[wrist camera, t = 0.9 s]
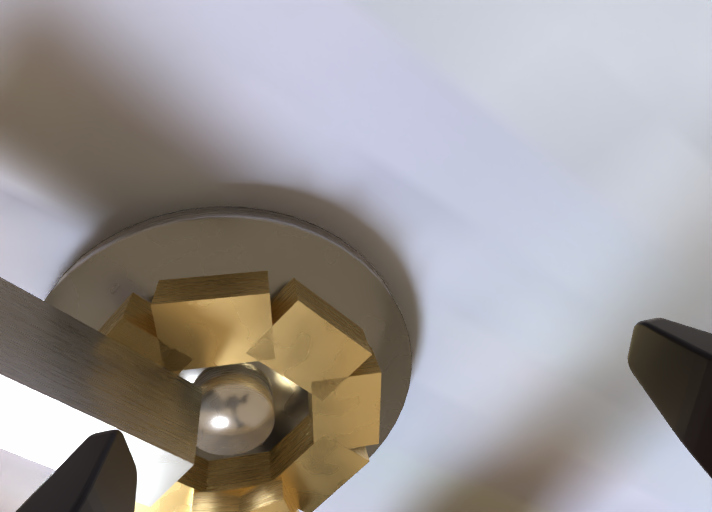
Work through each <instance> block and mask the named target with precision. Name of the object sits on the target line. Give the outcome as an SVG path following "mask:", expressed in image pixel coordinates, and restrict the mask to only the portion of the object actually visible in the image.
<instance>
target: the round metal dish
mask: <svg viewBox="0 0 712 512" xmlns="http://www.w3.org/2000/svg"><path fill="white" fill-rule="evenodd" d="M258 271H268V280H269V291H270V301H271V300H272V299H273V298H274V297H275V296H276V295H277V294H278V293H279V292H280V291H281V290H282V289H283V288H284V287H285V286H286V285H287V284H288V283H289V282H290V281H291V280H292V279H293V278H295V279H296V280H298V281H299V282H300V283H302V284H303V285H304V286H306V287H307V288H308V289H310V290H311V291H312V292H314V293H315V294H316V295H318V296H319V297H320V298H322V299H323V300H324V301H326V302H327V303H328V304H330V305H331V306H332V307H334V308H335V309H336V310H338V311H339V312H340V313H342V314H343V315H344V316H346V317H347V318H348V319H350V320H351V321H352V322H354V323H355V324H356V325H358V326H359V327H360V328H362V329H363V331H364V334H365V337H366V339H367V342H368V344H369V347H372V350H373V352H374V355H375V357H376V360H377V362H378V365H379V368H380V370H381V398H380V426H379V444H375V445H368V446H365V447H366V450H367V454H368V457H370V456H371V455H372V454H373V453H374V452H375V451H376V450H377V449H378V447H379V446H380V445H381V444H382V442H383V441H384V440H385V439H386V437H387V436H388V434H389V433H390V431H391V429H392V428H393V426H394V425H395V423H396V421H397V419H398V417H399V415H400V412H401V410H402V408H403V406H404V403H405V399H406V396H407V393H408V389H409V384H410V377H411V347H410V341H409V335H408V332H407V329H406V326H405V323H404V320H403V317H402V314H401V313H400V311H399V309H398V307H397V305H396V303H395V301H394V300H393V298H392V296H391V294H390V292H389V290H388V288H387V287H386V285H385V283H384V281H383V280H382V279H381V277H380V276H379V275H378V274H377V272H376V271H375V270H374V268H373V267H372V266H371V265H370V264H369V263H368V262H367V261H366V260H365V259H364V258H363V257H362V256H361V255H360V254H359V253H358V252H357V251H356V250H354V249H353V248H352V247H350V246H349V245H348V244H346V243H345V242H343V241H342V240H341V239H339V238H338V237H336V236H334V235H332V234H331V233H329V232H327V231H325V230H323V229H321V228H320V227H318V226H316V225H313V224H310V223H308V222H305V221H303V220H300V219H297V218H295V217H292V216H288V215H284V214H280V213H275V212H271V211H267V210H260V209H251V208H243V207H207V208H199V209H191V210H183V211H178V212H174V213H170V214H166V215H162V216H158V217H154V218H151V219H149V220H146V221H144V222H141V223H138V224H136V225H133V226H131V227H128V228H126V229H124V230H122V231H120V232H119V233H117V234H115V235H113V236H111V237H109V238H108V239H106V240H104V241H102V242H101V243H100V244H98V245H97V246H96V247H94V248H93V249H91V250H90V251H89V252H87V253H86V254H85V255H83V256H82V257H81V258H80V259H79V260H78V261H77V262H76V263H75V264H74V265H73V266H72V267H71V268H70V269H69V270H68V271H67V272H66V273H65V274H64V275H63V276H62V277H61V279H60V280H59V281H58V283H57V284H56V286H55V287H54V288H53V290H52V291H51V292H50V294H49V295H48V297H47V298H46V299H45V302H46V303H48V304H50V305H52V306H54V307H55V308H57V309H59V310H61V311H63V312H64V313H66V314H68V315H70V316H72V317H74V318H75V319H77V320H79V321H81V322H83V323H84V324H86V325H88V326H90V327H92V328H93V329H95V330H97V331H98V330H99V329H100V328H101V327H102V326H103V325H104V324H105V323H106V321H107V320H108V319H109V318H110V317H111V316H112V315H113V314H114V313H115V311H116V310H117V309H118V308H119V307H120V306H121V305H122V304H123V303H124V301H125V300H126V299H127V298H128V297H129V296H130V295H131V294H132V293H135V294H136V295H138V296H140V297H141V298H143V299H145V300H146V301H148V302H150V303H151V302H152V299H153V296H154V293H155V290H156V287H157V284H158V281H159V280H167V279H178V278H190V277H201V276H212V275H224V274H235V273H247V272H258ZM178 375H179V376H181V377H182V378H184V379H186V380H188V381H190V382H191V383H193V384H195V385H197V386H199V387H200V388H202V389H203V391H202V400H201V409H200V417H199V426H198V435H197V444H196V452H195V455H197V456H199V457H201V458H204V459H206V460H208V461H212V460H218V459H224V458H231V457H237V456H243V455H250V454H256V453H262V452H269V451H270V450H271V449H272V448H274V447H275V446H276V445H277V444H278V443H279V442H280V441H281V440H282V439H283V438H284V437H285V436H286V435H287V434H288V433H289V432H291V431H292V430H293V429H294V428H295V427H296V426H297V425H298V424H299V423H300V422H301V421H302V420H303V419H304V418H305V417H307V416H308V415H309V403H308V391H306V390H305V389H303V388H301V387H300V386H298V385H297V384H295V383H293V382H292V381H290V380H289V379H287V378H285V377H284V376H282V375H281V374H279V373H277V372H276V371H274V370H272V369H271V368H269V367H268V366H266V365H264V364H263V363H261V362H260V361H254V362H246V363H238V364H230V365H222V366H213V367H205V368H197V369H189V370H182V371H181V372H180V373H179V374H178Z"/></svg>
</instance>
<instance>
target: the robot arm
mask: <svg viewBox="0 0 712 512" xmlns="http://www.w3.org/2000/svg"><path fill="white" fill-rule="evenodd" d="M628 364H629V367H630V369H631V371H632V373H633V374H634V376H635V377H636V378H637V380H638V381H639V383H640V384H641V385H642V387H643V388H644V390H645V391H646V393H647V394H648V395H649V397H650V398H651V400H652V401H653V403H654V404H655V405H656V407H657V408H658V410H659V411H660V413H661V414H662V415H663V417H664V418H665V420H666V421H667V423H668V424H669V425H670V427H671V428H672V430H673V431H674V432H675V434H676V435H677V437H678V438H679V439H680V441H681V442H682V443H683V445H684V446H685V447H686V448H687V449H688V451H689V452H690V453H691V454H692V456H693V457H694V458H695V459H696V460H697V462H698V463H699V464H700V465H701V466H702V468H703V469H704V470H705V471H706V472H707V473H708V475H709V476H710V477H711V478H712V334H711V333H708V332H705V331H702V330H698V329H695V328H692V327H689V326H685V325H682V324H679V323H676V322H673V321H669V320H666V319H662V318H654V319H649V320H644V321H640V322H638V323H637V324H636V326H635V327H634V330H633V335H632V339H631V344H630V349H629V353H628ZM136 490H137V468H136V464H135V462H134V459H133V457H132V454H131V452H130V449H129V447H128V444H127V442H126V440H125V437H124V435H123V433H122V432H121V431H120V430H118V429H112V430H107V431H102V432H97V433H94V434H91V435H90V436H88V437H87V438H86V439H85V440H84V441H83V442H82V443H81V444H80V445H79V446H78V447H77V448H76V449H75V451H74V452H73V453H72V454H71V455H70V456H69V457H68V458H67V459H66V460H65V461H64V462H63V463H62V464H61V465H60V466H59V467H58V468H57V469H56V470H55V471H54V472H53V473H52V474H51V475H50V476H49V477H48V478H47V480H46V481H45V482H44V483H43V484H42V485H41V486H40V487H39V488H38V489H37V490H36V491H35V492H34V493H33V494H32V495H31V496H30V497H29V498H28V499H27V500H26V501H25V502H24V503H23V504H22V505H21V506H20V508H19V509H18V510H17V511H16V512H135V501H136Z"/></svg>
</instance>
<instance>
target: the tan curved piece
mask: <svg viewBox="0 0 712 512" xmlns="http://www.w3.org/2000/svg"><path fill="white" fill-rule="evenodd" d="M254 361H260V362H261V363H263V364H264V365H266V366H268V367H269V368H271V369H272V370H274V371H276V372H277V373H279V374H281V375H282V376H284V377H285V378H287V379H289V380H290V381H292V382H293V383H295V384H297V385H298V386H300V387H301V388H303V389H305V390H306V391H308V403H309V415H308V416H307V417H305V418H304V419H303V420H302V421H301V422H300V423H299V424H298V425H297V426H296V427H295V428H294V429H293V430H292V431H291V432H289V433H288V434H287V435H286V436H285V437H284V438H283V439H282V440H281V441H280V442H279V443H278V444H277V445H276V446H275V447H274V448H272V449H271V450H270V451H269V452H262V453H256V454H250V455H243V456H237V457H231V458H224V459H218V460H212V461H208V460H206V459H204V458H201V457H199V456H197V455H195V452H196V444H197V435H198V426H199V417H200V409H201V400H202V391H203V389H202V388H200V387H199V386H197V385H195V384H193V383H191V382H190V381H188V380H186V379H184V378H182V377H181V376H179V375H178V374H179V373H180V372H181V371H182V370H189V369H197V368H205V367H213V366H222V365H230V364H238V363H246V362H254ZM380 398H381V370H380V368H379V365H378V362H377V360H376V357H375V355H374V352H373V350H372V347H369V344H368V342H367V339H366V337H365V334H364V331H363V329H362V328H360V327H359V326H358V325H356V324H355V323H354V322H352V321H351V320H350V319H348V318H347V317H346V316H344V315H343V314H342V313H340V312H339V311H338V310H336V309H335V308H334V307H332V306H331V305H330V304H328V303H327V302H326V301H324V300H323V299H322V298H320V297H319V296H318V295H316V294H315V293H314V292H312V291H311V290H310V289H308V288H307V287H306V286H304V285H303V284H302V283H300V282H299V281H298V280H296V279H295V278H293V279H292V280H291V281H290V282H289V283H288V284H287V285H286V286H285V287H284V288H283V289H282V290H281V291H280V292H279V293H278V294H277V295H276V296H275V297H274V298H273V299H272V300H271V301H270V291H269V280H268V271H258V272H247V273H235V274H224V275H212V276H201V277H190V278H178V279H167V280H159V281H158V284H157V287H156V290H155V293H154V296H153V299H152V302H151V303H150V302H148V301H146V300H145V299H143V298H141V297H140V296H138V295H136V294H135V293H132V294H131V295H130V296H129V297H128V298H127V299H126V300H125V301H124V303H123V304H122V305H121V306H120V307H119V308H118V309H117V310H116V311H115V313H114V314H113V315H112V316H111V317H110V318H109V319H108V320H107V321H106V323H105V324H104V325H103V326H102V327H101V328H100V329H99V330H98V331H97V330H95V329H93V328H92V327H90V326H88V325H86V324H84V323H83V322H81V321H79V320H77V319H75V318H74V317H72V316H70V315H68V314H66V313H64V312H63V311H61V310H59V309H57V308H55V307H54V306H52V305H50V304H48V303H46V302H45V301H43V300H41V299H39V298H37V297H35V296H34V295H32V294H30V293H28V292H26V291H25V290H23V289H21V288H19V287H17V286H15V285H14V284H12V283H10V282H8V281H6V280H5V279H3V278H1V277H0V448H3V449H5V450H8V451H10V452H13V453H15V454H18V455H20V456H23V457H25V458H28V459H30V460H33V461H35V462H38V463H40V464H43V465H45V466H48V467H50V468H53V469H55V470H56V469H57V468H58V467H59V466H60V465H61V464H62V463H63V462H64V461H65V460H66V459H67V458H68V457H69V456H70V455H71V454H72V453H73V452H74V451H75V449H76V448H77V447H78V446H79V445H80V444H81V443H82V442H83V441H84V440H85V439H86V438H87V437H88V436H90V435H91V434H94V433H97V432H102V431H107V430H112V429H118V430H120V431H121V432H122V433H123V435H124V437H125V440H126V442H127V444H128V447H129V449H130V452H131V454H132V457H133V459H134V462H135V464H136V468H137V490H136V501H135V512H299V510H298V509H300V510H302V511H304V512H313V511H314V510H315V509H316V508H317V507H318V506H319V505H321V504H322V503H323V502H324V501H325V500H326V499H327V498H328V497H330V496H331V495H332V494H333V493H334V492H335V491H336V490H337V489H339V488H340V487H341V486H342V485H343V484H344V483H345V482H346V481H348V480H349V479H350V478H351V477H352V476H353V475H354V474H356V473H357V472H358V471H359V470H360V469H361V468H362V467H363V466H365V465H366V464H367V463H368V462H369V457H368V454H367V450H366V447H365V446H368V445H375V444H379V426H380Z"/></svg>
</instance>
